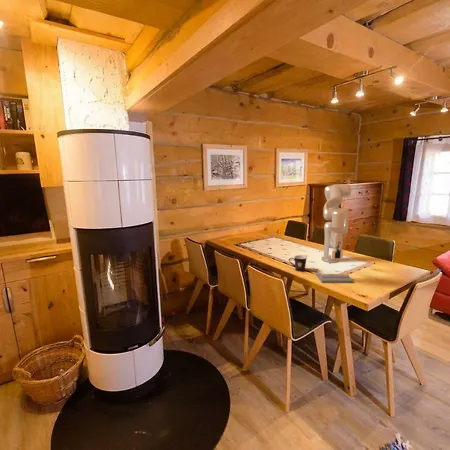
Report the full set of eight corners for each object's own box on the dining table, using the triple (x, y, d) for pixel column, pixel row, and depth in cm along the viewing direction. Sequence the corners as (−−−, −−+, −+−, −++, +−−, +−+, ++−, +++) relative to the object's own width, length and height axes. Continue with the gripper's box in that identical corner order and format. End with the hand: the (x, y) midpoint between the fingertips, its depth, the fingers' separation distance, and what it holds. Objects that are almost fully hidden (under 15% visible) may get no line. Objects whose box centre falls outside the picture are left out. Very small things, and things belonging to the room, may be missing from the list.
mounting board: (316, 275, 188) (316, 273, 188) (345, 275, 188) (346, 273, 187) (321, 282, 177) (321, 280, 176) (353, 282, 176) (353, 280, 175)
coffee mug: (308, 270, 199) (308, 256, 198) (302, 273, 194) (302, 259, 192) (294, 266, 208) (294, 253, 206) (288, 269, 202) (288, 256, 200)
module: (328, 256, 182) (329, 246, 181) (339, 256, 182) (339, 246, 181) (331, 258, 177) (332, 249, 175) (342, 258, 176) (343, 249, 175)
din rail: (320, 276, 183) (320, 273, 183) (347, 276, 183) (347, 273, 182) (321, 277, 181) (321, 275, 181) (348, 277, 180) (349, 275, 180)
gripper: (327, 227, 185) (325, 252, 188) (336, 232, 168) (334, 260, 171) (338, 227, 184) (336, 253, 188) (348, 232, 167) (346, 260, 171)
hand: (335, 256), depth 179 cm, fingers closed on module, 6 cm apart
